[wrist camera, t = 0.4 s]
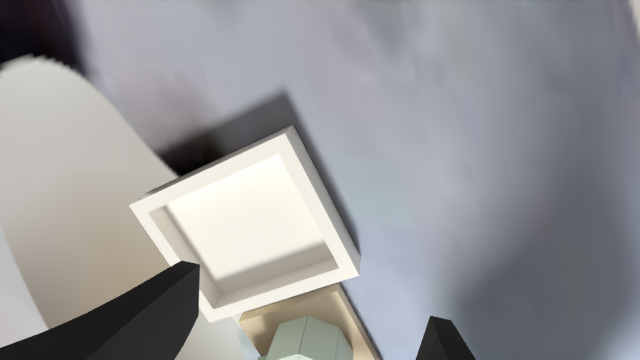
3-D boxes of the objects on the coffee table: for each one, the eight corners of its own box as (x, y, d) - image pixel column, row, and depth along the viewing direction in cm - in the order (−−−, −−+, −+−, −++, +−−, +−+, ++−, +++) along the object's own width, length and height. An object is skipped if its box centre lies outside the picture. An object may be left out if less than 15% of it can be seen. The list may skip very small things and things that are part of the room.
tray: (360, 256, 22) (359, 275, 21) (221, 303, 25) (209, 323, 23) (292, 124, 20) (284, 133, 18) (146, 192, 23) (128, 205, 21)
